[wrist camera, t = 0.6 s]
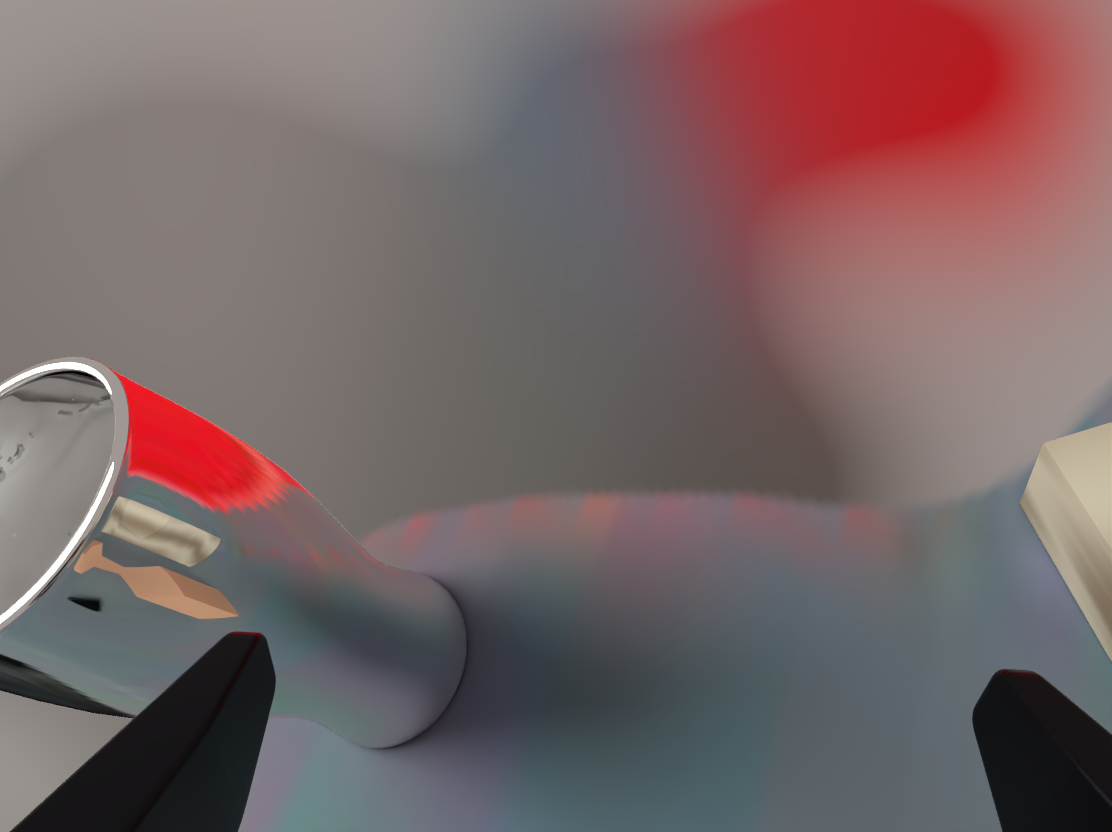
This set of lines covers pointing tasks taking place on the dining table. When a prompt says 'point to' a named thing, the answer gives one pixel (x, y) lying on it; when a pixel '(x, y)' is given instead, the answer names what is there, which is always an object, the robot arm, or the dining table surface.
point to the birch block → (1078, 519)
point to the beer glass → (195, 567)
